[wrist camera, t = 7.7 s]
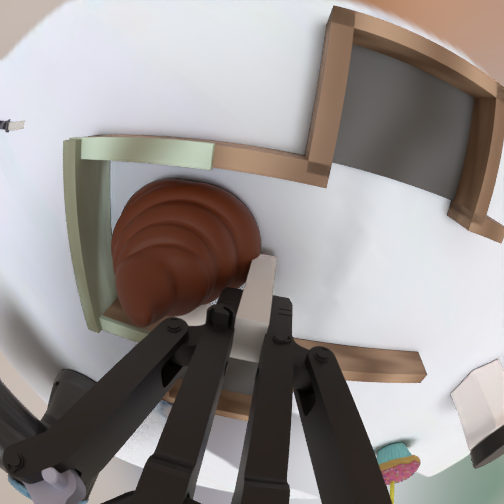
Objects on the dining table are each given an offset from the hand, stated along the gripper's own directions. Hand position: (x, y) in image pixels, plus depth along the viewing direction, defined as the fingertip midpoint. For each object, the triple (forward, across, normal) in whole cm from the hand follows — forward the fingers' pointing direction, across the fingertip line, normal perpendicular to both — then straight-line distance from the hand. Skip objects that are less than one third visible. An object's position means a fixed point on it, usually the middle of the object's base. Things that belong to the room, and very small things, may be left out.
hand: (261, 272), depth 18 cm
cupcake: (+2, -28, +30) cm, 41 cm away
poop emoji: (+2, +5, -1) cm, 6 cm away
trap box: (+1, -1, 0) cm, 2 cm away
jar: (+2, -32, +12) cm, 34 cm away
